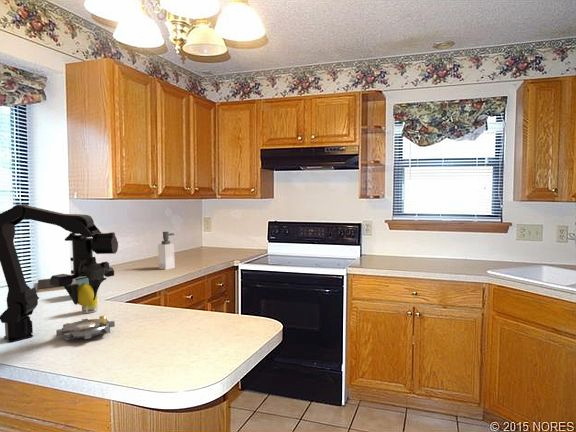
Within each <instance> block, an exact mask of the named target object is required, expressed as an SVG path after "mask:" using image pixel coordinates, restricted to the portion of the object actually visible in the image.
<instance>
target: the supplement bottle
mask: <svg viewBox="0 0 576 432" xmlns="http://www.w3.org/2000/svg"><path fill="white" fill-rule="evenodd" d="M98 305H99V304H98V293H97V294H96V297H95V300H93V301H92V302H91V303H90V304H89V305H87V306H86V307H83V306H82V305H81V312H82V313H83V314H93V313H95V312H97V311H98V309H99V307H98Z"/></svg>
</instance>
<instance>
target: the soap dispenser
mask: <svg viewBox="0 0 576 432" xmlns="http://www.w3.org/2000/svg"><path fill="white" fill-rule="evenodd" d="M174 235H175V233H173V232H172V233H169V231H162V240H161V243H160V244H157V252H158V258H157V259H158V269H161V270H171V269H175V267H176V266H175V243H171V240H170V239H169V238H170V237H169V236H174Z"/></svg>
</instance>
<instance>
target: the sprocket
mask: <svg viewBox="0 0 576 432" xmlns="http://www.w3.org/2000/svg"><path fill="white" fill-rule="evenodd" d="M115 325H116V322H115V320H111V321H109V320H108V319H107V316H106V315H99V318H93V319H91V318H90V319H88V318H83V319H82V318H81V320H78V321H74V322H72V323H71V322H70V323H69V322H66V323H63V324H62V328H59V329H56V332H55V333H56V337H59V336H61V337H62V340H64V341H66V340H67V341H69V340H71V339H84V340H87V339H92V337H91V336H93V337H94V336H95V337H96V336H99V335H101V334H109V333H110V332H111V328H115Z"/></svg>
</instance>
